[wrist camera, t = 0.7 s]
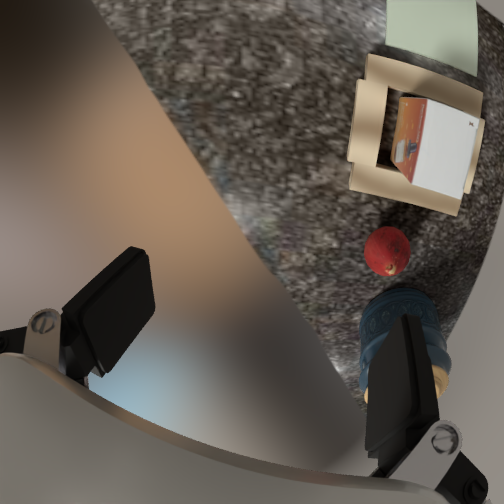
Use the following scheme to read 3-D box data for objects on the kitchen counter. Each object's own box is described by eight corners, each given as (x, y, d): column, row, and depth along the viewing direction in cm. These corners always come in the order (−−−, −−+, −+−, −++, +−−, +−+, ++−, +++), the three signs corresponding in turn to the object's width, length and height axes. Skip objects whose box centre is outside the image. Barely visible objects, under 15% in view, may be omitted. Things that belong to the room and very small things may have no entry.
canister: (343, 312, 42) (336, 411, 28) (415, 269, 35) (443, 370, 21) (382, 355, 45) (383, 443, 30) (445, 322, 38) (467, 412, 23)
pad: (385, -33, 16) (386, -35, 16) (473, -1, 14) (475, -2, 13) (385, 45, 23) (385, 44, 22) (474, 76, 20) (476, 76, 20)
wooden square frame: (359, 55, 24) (361, 51, 22) (479, 94, 21) (488, 95, 19) (342, 181, 33) (342, 188, 31) (454, 210, 30) (461, 217, 28)
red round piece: (375, 209, 33) (384, 238, 26) (411, 228, 33) (427, 260, 26) (355, 246, 36) (357, 281, 30) (390, 262, 36) (399, 299, 29)
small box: (399, 96, 25) (427, 95, 17) (441, 109, 24) (481, 117, 16) (388, 160, 30) (409, 185, 21) (429, 171, 29) (462, 201, 20)
